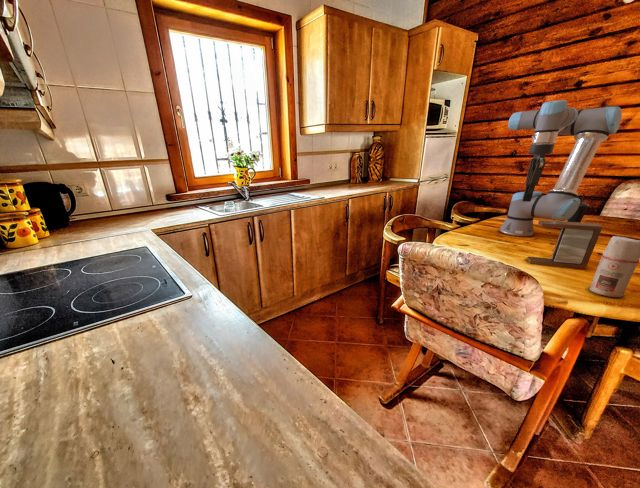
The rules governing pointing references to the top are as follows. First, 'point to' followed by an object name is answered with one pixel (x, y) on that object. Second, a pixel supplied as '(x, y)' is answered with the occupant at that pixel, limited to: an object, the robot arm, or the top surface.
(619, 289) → the spray can
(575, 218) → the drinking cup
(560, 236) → the door
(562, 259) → the showcase frame
